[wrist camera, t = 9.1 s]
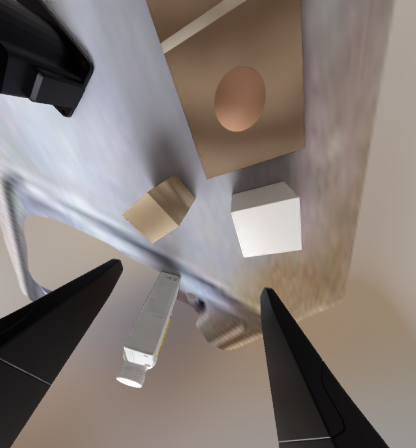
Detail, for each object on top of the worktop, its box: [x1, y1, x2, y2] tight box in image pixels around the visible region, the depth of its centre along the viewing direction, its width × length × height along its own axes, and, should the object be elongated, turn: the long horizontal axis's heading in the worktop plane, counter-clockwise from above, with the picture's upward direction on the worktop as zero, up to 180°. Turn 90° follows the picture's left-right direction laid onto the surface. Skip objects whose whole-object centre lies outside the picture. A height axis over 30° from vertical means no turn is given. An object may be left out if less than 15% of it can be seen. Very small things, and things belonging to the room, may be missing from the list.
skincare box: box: [124, 272, 180, 367], centre depth 25 cm, size 6×4×12 cm
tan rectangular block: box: [122, 174, 196, 243], centre depth 17 cm, size 4×4×7 cm
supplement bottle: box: [117, 313, 173, 387], centre depth 31 cm, size 7×7×13 cm
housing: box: [231, 181, 302, 257], centre depth 17 cm, size 6×6×5 cm
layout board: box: [146, 0, 305, 179], centre depth 11 cm, size 22×10×1 cm, turn 19°
